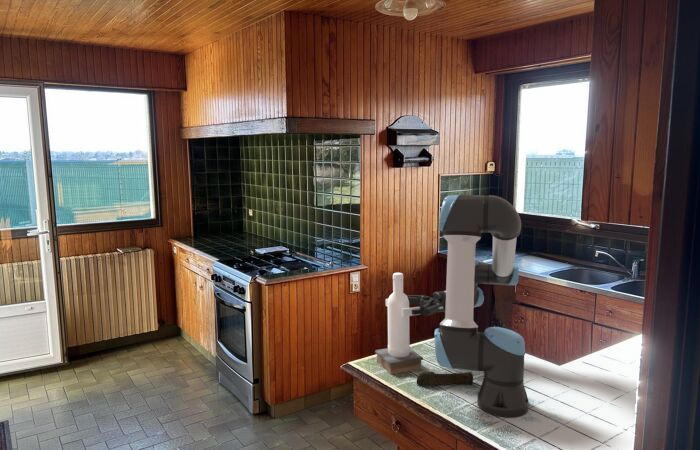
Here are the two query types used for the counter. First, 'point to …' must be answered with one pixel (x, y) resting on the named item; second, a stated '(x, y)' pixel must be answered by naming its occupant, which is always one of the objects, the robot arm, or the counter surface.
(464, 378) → the hand tool
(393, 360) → the slate stand
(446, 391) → the counter surface
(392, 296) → the bottle
